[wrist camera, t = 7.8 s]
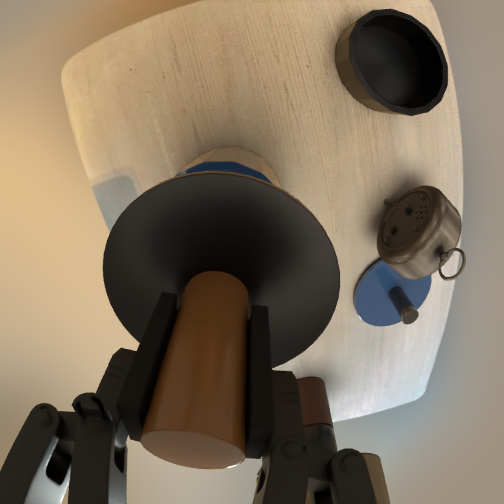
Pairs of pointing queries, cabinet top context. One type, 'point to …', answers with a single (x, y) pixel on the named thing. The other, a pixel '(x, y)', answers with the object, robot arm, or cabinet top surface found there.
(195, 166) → the pot
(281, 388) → the robot arm
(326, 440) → the lamp
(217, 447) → the lid
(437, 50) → the pan
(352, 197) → the cabinet top surface
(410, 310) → the pot lid
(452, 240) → the alarm clock
